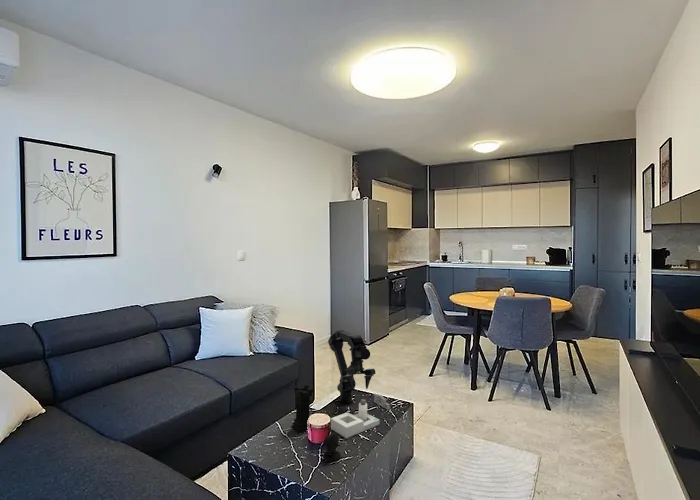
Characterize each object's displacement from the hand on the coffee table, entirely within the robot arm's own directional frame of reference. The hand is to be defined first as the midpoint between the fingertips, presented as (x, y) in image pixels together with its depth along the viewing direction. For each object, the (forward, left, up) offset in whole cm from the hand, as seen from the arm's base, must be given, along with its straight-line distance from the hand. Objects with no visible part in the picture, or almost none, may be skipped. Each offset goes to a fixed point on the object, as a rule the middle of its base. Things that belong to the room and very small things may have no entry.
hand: (359, 388), depth 208 cm
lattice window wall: (+2, +16, -13) cm, 20 cm away
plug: (+11, -7, -13) cm, 18 cm away
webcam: (+25, -38, -13) cm, 48 cm away
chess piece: (-3, -34, -13) cm, 37 cm away
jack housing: (+11, -12, -13) cm, 21 cm away
